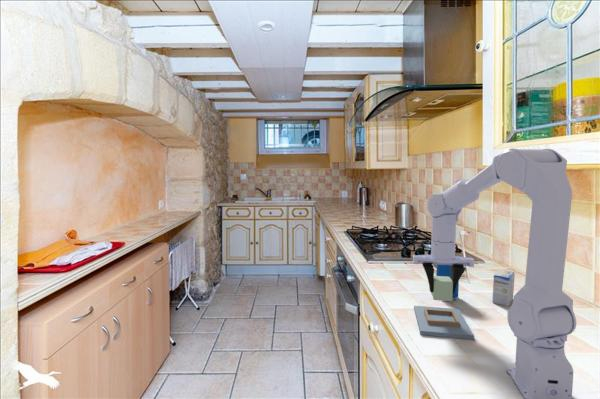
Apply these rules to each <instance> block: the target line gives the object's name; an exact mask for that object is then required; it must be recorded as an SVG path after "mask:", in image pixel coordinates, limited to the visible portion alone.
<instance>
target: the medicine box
mask: <svg viewBox="0 0 600 399" xmlns="http://www.w3.org/2000/svg"><path fill="white" fill-rule="evenodd" d="M492 283H493V284H492V286H493V287H492V303H493V304H496V305H501V306H505V307H509V306H510V304H511V303H512V302H513V301H512V300H513V298H514V290H515V271H512V270H511V271H510V270H505V269H498V270H497V271H496V272H495V273H494V274H493V282H492Z"/></svg>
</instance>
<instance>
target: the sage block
mask: <svg viewBox="0 0 600 399" xmlns="http://www.w3.org/2000/svg"><path fill="white" fill-rule="evenodd" d="M433 284H434V291H433V293H431V292H430V293H431V297H432V299H433V300H435V301H446V302H453V300H452V295H453V281H452V280H451V278H450V277H446V276H436V275H434V279H433Z"/></svg>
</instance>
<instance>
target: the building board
mask: <svg viewBox="0 0 600 399" xmlns="http://www.w3.org/2000/svg"><path fill="white" fill-rule="evenodd" d="M413 311H414V315H415V318H416V323H417V327H418V331H419V335H420V336H430V337H432V336H433V337H441V338H442V337H443V338H451V339H453V338H454V339H463V340H473V341H474V340H475V335H474V333H473V331H472V329H471V328H470V325H469V324H468V322H467V321H466V318H465V317H464V315H463V314H462V312H461V310H460V308H452V307H451V308H450V307H440V306H439V307H438V306H424V305H423V306H422V305H414V306H413Z"/></svg>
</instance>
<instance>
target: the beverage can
mask: <svg viewBox="0 0 600 399" xmlns="http://www.w3.org/2000/svg"><path fill="white" fill-rule="evenodd" d="M435 276H446V277H450V278H451V271H450V265H437V264H436V275H435ZM459 282H460V280H459V281H458V283H457V286H456V289H455V293H454V294H453V295H452V301H453V300H455V299H457V298H459V285H460V283H459Z"/></svg>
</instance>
